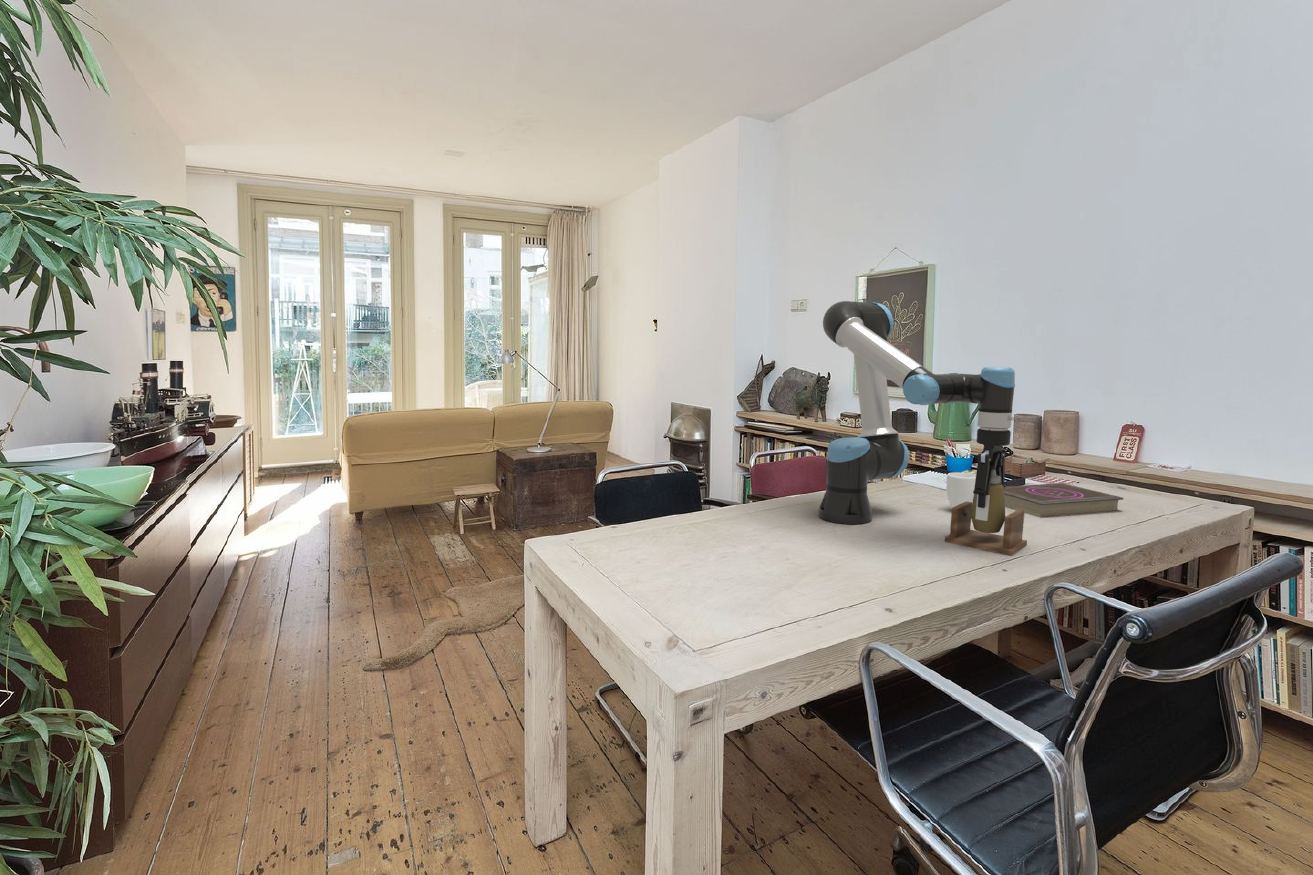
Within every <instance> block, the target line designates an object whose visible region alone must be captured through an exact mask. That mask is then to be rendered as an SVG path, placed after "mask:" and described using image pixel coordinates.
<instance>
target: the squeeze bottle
mask: <svg viewBox="0 0 1313 875" xmlns="http://www.w3.org/2000/svg"><path fill="white" fill-rule="evenodd" d="M1000 482H1001V477H1000V476H998V475H996V470H993V473H992V478H991V483H990V488H989V492H988V495H990V499H989V512H988V521H984V520H978V519H975V518H976V504H977V494H974V497H973V503H972V508H971V514H970V515H971V524H972V526H973V530H975V531H980V532H984V533H991V534H996V533H1000V532H1001V530H1002V528H1003V527H1004V522H1005V517H1006V507H1005V495H1004V487H1003V486H1002V485H1001V484H999V483H1000ZM981 489H982V488H981Z"/></svg>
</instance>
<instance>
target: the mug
mask: <svg viewBox="0 0 1313 875" xmlns="http://www.w3.org/2000/svg"><path fill="white" fill-rule="evenodd" d="M946 475H947V476H946V497H947V499H948V502H949V505H950V508H951V510H952V508H953V507H955V506H957V505H959V504H961V503H964V502H966V501H967V502H972V503H973V497H974V493H973V491H974V488H975V480H976V474H974V473H973V474H972V473H968V472H949V473H948V474H946Z"/></svg>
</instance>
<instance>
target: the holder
mask: <svg viewBox="0 0 1313 875" xmlns="http://www.w3.org/2000/svg"><path fill="white" fill-rule="evenodd" d="M971 508H972V502H967V501H966V502H964V503H961V504H959V505H957V506H955V507H953V508H952V509H951V514H950V516H951V517H950V529H949V531H950V532H949V534H948V535H946V536H945V537H944V542H945V543H950V544H954V545H959V546H963V547H964V546H965V547H969V548H974V549H979V550H983V551H989V552H993V553H996V554H997V553H998V554H1002V555H1007V556H1013V555H1015V554H1016V553H1018V552H1019V551H1021V550H1022V549H1024V548H1025V547H1026V546H1027V545H1028V540H1027V539H1023V532H1024V521H1025V520H1024V519H1025V513H1024V511H1022V510H1014V511H1013V512H1011V513H1009V514H1008V515H1005V521H1004V523H1003V535H1000V534H996V533H984V532H980V531H977V530H975V529H971V525H972V519H971V515H970V514H971Z"/></svg>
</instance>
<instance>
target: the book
mask: <svg viewBox="0 0 1313 875" xmlns="http://www.w3.org/2000/svg"><path fill="white" fill-rule="evenodd" d="M1004 495H1005V508H1009V509H1011V510H1014V511H1016V510H1022V511H1024V514H1028V515H1031V516H1034V517H1037V518H1040V519H1044V518H1045V519H1046V518H1059V517H1067V516H1068V517H1069V516H1070V517H1072V516H1082V515H1083V516H1084V515H1095V514H1099V515H1100V514H1109V513H1110V512H1111V513H1120V512H1121V513H1122V512H1123V511H1122V510H1120V509H1118V507H1119V506H1118V504H1119V501H1123V500H1124V497H1122V496H1117V495H1114V494H1109V493H1105V492H1101V491H1098V490H1097V491H1096V490H1092V489H1088V488H1084V487H1080V486H1076V485H1072V484H1068V483H1063V482H1062V483H1061V482H1057V483H1043V484H1042V483H1041V484H1040V483H1039V484H1029V485H1028V484H1027V485H1009V486H1008V485H1007V486H1005V489H1004Z"/></svg>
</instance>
